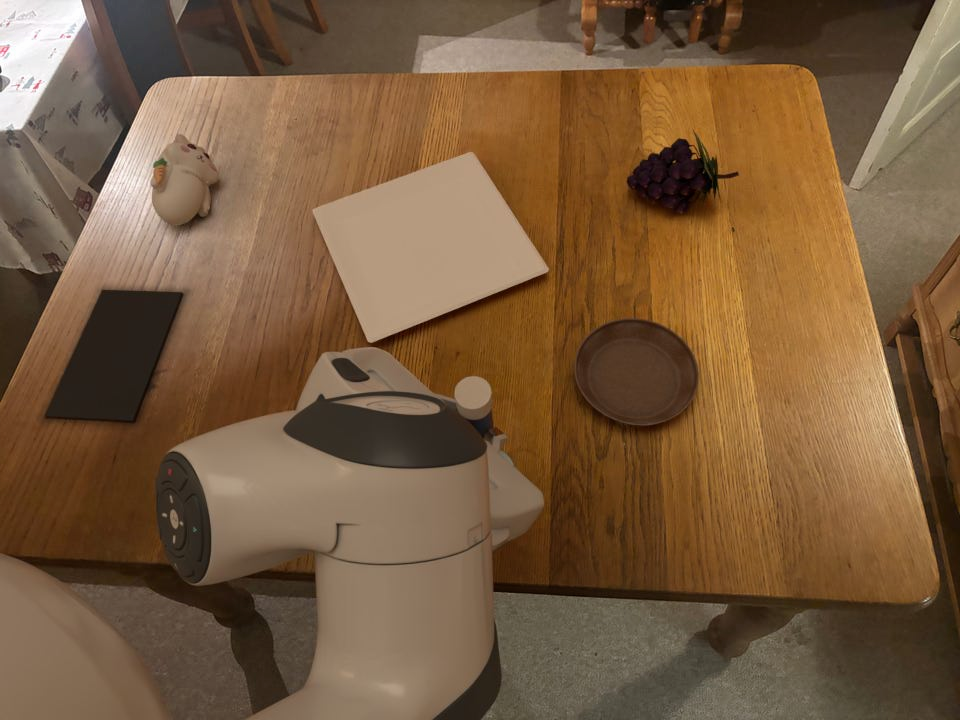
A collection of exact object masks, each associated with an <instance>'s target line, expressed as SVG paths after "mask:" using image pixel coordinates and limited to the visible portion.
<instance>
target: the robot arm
mask: <svg viewBox="0 0 960 720" xmlns="http://www.w3.org/2000/svg"><path fill="white" fill-rule="evenodd" d="M298 399H299V400H298V401H297V405H296V408H295V409H293V410H285V411H279V412H275V413H269V414H266V415H265V414H264V415H261V416H258V417H253V418H248V419H245V420H242V421H238V422H235V423H231V424H229V425H225V426H221V427H219V428H217V429H213V430H210V431H208V432H205V433H202V434H200V435H197V436H194V437H191V438H190V439H187V440H185V441H183V442H181V443H179V444H177V445H175V446H173V447H171V449H169V450H168V451H167V452H166V454H165V455H164V456H163V457H162V460H161V462H160V465H159V468H158V472H157V476H156V477H155V487H154V488H155V513H156V523H157V530H158V537H159V540H160V541H161V544H162V545H161V546H162V547H163V549H164V554H165V557H166V559H167V560H168V563H169V564H170V565H171V567H172V569H173V570H175V572H176V573H177V574H178V576H179V577H180V578H181V579H182V580H183V581H184V582H185V583H187V584H189V585H191V586H197V587H202V586H210V585H215V584H219V583H225V582H229V581H232V580H236V579H241V578H244V577H247V576H251V575H253V574H257V573H259V572H260V573H261V572H264V571H267V570H269V569H272V568H275V567H276V568H277V567H278V566H281V565H283V564H286V563H289V562H292V561H295V560H298V559H300V558H302V557H304V556H308V555H310V554H312V553H313V557H314V576H315V596H316V617H317V634H316V643H315V650H314V656H313V660H312V665H311V668H310V671H309V674H308V676H307V679H306V681H305V683H304V685H303V687H301V689H299V690H298V691H296V692H294V693H291V694H290V695H288V696H286V697H284V698H282V699H281V700H278V701H277V702H274V703H273V704H271V705H269V706H267V707H265V708H263V709H262V710H260V711H258V712H256V713H254V714H252V715H250V716H248V717H246V718H245V719H244V720H482V719H483V718H484V717H485V716H486V714H487V713H488V712H489V711H490V709H491V708H492V707H493V705H494V704H495V702H496V700H497V698H498V696H499V693H500V691H501V686H502V680H503V679H502V678H503V677H502V667H501V666H502V665H501V657H500V656H501V655H500V648H499V647H500V646H499V638H498V637H499V636H498V629H497V624H496V619H495V599H494V598H495V597H494V565H493V564H494V563H493V552H494V551H496V550H497V549H498V550H499V548H501V547H502V546H504V545H506V543H507V542H510V541H513V540H514V539H517V538H518V537H521V536H522V535H524V534H525V533H527V531H528V530H529V529H530V528H531V527H532V526H533V524H534V523H535V521H536V520H537V519H538V517H539V516H540V515H541V513H542V512H543V509H544V508H545V497H544V493H543V492H542V490H541V489H540V488H539V487H537V485H535V484H534V483H533V482H532V481H531V480H530V479H529V478H528V477H526V476H525V475H524V474H523V473H522V472H521V471H520V470H519V469H518V468H517V467H516V466H515V467H514V466H513V465H512V464H511V463H510V462H509V461H507V460H506V459H505V458H504V457H503V456H502V455H501V454H500V453H499V451H500V450H503V448H504V447H505V445H506V443H507V442H508V440H509V436H508V435H506V434H505V433H504V432H503V431H502V430H501V429H499V428H498V427H497V426H494V428H491V429H489V430H487V432H486V433H485V434H484V438H483V437H482V436H481V435H480V434H479V432H478V431H477V430H476V429H475V428H474V427H473V426H472V425H471V424H470V423H469V422H468V421H467V420H466V419H465V418H464V417H463V416H461V415H460V414H459V412H458V410H457V406H456V401H455V398H452V397H449V396H447V395H444V394H439V393H436V392H433V391H431V390H430V389H429V388H428V387H427V386H426V385H425V384H424V383H422V381H420V380H419V379H418V377H416V376H415V375H414V374H413V373H412V372H411V371H410V370H408V369H407V367H406V366H404V365H403V364H402V363H401V362H400V361H398V360H397V359H396V358H395V357H394V356H393V355H392V354H391V353H390V352H388V351H386V350H383V349H381V348H378V347H375V346H367V347H366V346H365V347H357V348H349V349H345V350H343V351H341V352H340V351H325V352H323V353H321V355H320V357H319V358H318V360H317V361H316V363H315V365H314V367H313V368H312V370H311V372H310V374H309V376H308V378H307V380H306V382H305V385H304V387H303V389H302V392H301V394H300V396H299V398H298ZM0 720H175V719H174V717H173V715H172V713H171V711H170V709H169V707H168V706H167V703H166V701H165V700H164V698H163V696H162V694H161V692H160V690H159V688H158V685H157V683H156V681H155V679H154V677H153V675H152V673H151V671H150V670H149V668H148V667H147V665H146V664H145V662H144V661H143V659H142V658H141V656H140V655H139V653H138V652H137V651H136V650H135V648H134V647H133V646H132V644H131V643H130V641H128V639H126V637H125V636H124V635H123V634H122V632H120V630H119V629H118V628H117V627H116V626H115V625H114V623H112V621H110V620H109V619H108V618H107V616H105V615H104V613H102V612H101V611H100V610H99V609H98V608H96V606H94V605H93V604H92V603H91V602H89V601H88V600H87V599H86V598H84V597H83V596H82V595H81V594H79V593H78V592H77V591H76V590H74V589H72V587H70V586H68V585H66V584H65V583H64V582H62V581H61V580H59V579H58V578H56V577H55V576H53V575H52V574H50V573H47V572H46V571H44V570H42V569H40V568H38V567H36V566H35V565H33V564H30V563H29V562H26V561H24V560H20V559H19V558H16V557H13V556H11V555H7V554H4V553H1V552H0Z"/></svg>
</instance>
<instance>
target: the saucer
mask: <svg viewBox="0 0 960 720" xmlns="http://www.w3.org/2000/svg"><path fill="white" fill-rule="evenodd" d="M573 368H574V378H575V381H576V384H577V386H578V388H579V390H580V393H581V394H582V396H583V397H584V398H585V401H587V402H588V403H589V404H590V405H591V406H592V407H593V408H594V409H595V410H596V411H598V412H599V413H600V414H602V415H603V416H606V417H607V418H609V419H611V420H614V421H616V422H619V423H623V424H626V425H631V426H652V425H658V424H661V423H665V422H667V421H670V420H673V418H676V417H677V416H678V415H680V414H681V413H682V412H684V410H685V409H687V408H688V406H689V405H690V404H691V403H692V401H693V399H694V398H695V396H696V393H697V390H698V388H699V387H698V386H699V383H700V382H699V380H700V373H699V366H698V362H697V359H696V356H695V354H694V353H693V351H692V349H691V348H690V346H689V344H688V343H687V342H686V341H685V340H684V339H683V338H682V337H680V335H678V334H677V333H676V332H675V331H673V330H672V329H670V328H669V327H667V326H665V325H663V324H660V323H659V322H656V321H652V320H649V319H643V318H635V317H630V318H629V317H628V318H619V319H613V320H611V321H610V320H609V321H607V322H604V323H603V324H600V325H599V326H597V327H596V328H594V329H593V330H591V332H590V333H588V334H587V335H586V336H585V337H584V338H583V340H582V341H581V343H580V345H579V346H578V348H577V350H576V354H575V358H574V366H573Z"/></svg>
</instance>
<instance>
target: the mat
mask: <svg viewBox="0 0 960 720" xmlns="http://www.w3.org/2000/svg"><path fill="white" fill-rule="evenodd" d="M98 295H99V296H98V298H97V300H96V302H95V304H94V306H93V308H92V310H91V313H90V314H89V315H90V316H89V318H88V320H87V321H86V324H85V326H84V328H83V330H82V332H81V335H80V337H79V339H78V341H77V343H76V346H75V348H74V350H73V353H72V355H71V357H70V360H69V361H68V364H67V366H66V368H65V369H64V372H63V374H62V376H61V378H60V381H59V383H58V385H57V387H56V389H55V392H54V394H53V396H52V397H51V400H50V403H49V405H48V407H47V408H46V411H45V414H44V417H45V418H47V419H62V420H63V419H65V420H83V421H85V420H86V421H102V422H103V421H104V422H105V421H106V422H123V423H124V422H125V423H135V422H136V420H137V417H138V415H139V412H140V409H141V407H142V404H143V401H144V399H145V396H146V393H147V391H148V388H149V386H150V383H151V380H152V378H153V375H154V373H155V369H156V367H157V364H158V362H159V359H160V356H161V355H162V351H163V349H164V346H165V344H166V340H167V338H168V336H169V334H170V330H171V327H172V326H173V323H174V320H175V317H176V315H177V312H178V310H179V306H180V304H181V302H182V298H183V297H184V293H183V292H182V291H159V290H127V289H126V290H125V289H101V292H100V293H99V294H98Z"/></svg>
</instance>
